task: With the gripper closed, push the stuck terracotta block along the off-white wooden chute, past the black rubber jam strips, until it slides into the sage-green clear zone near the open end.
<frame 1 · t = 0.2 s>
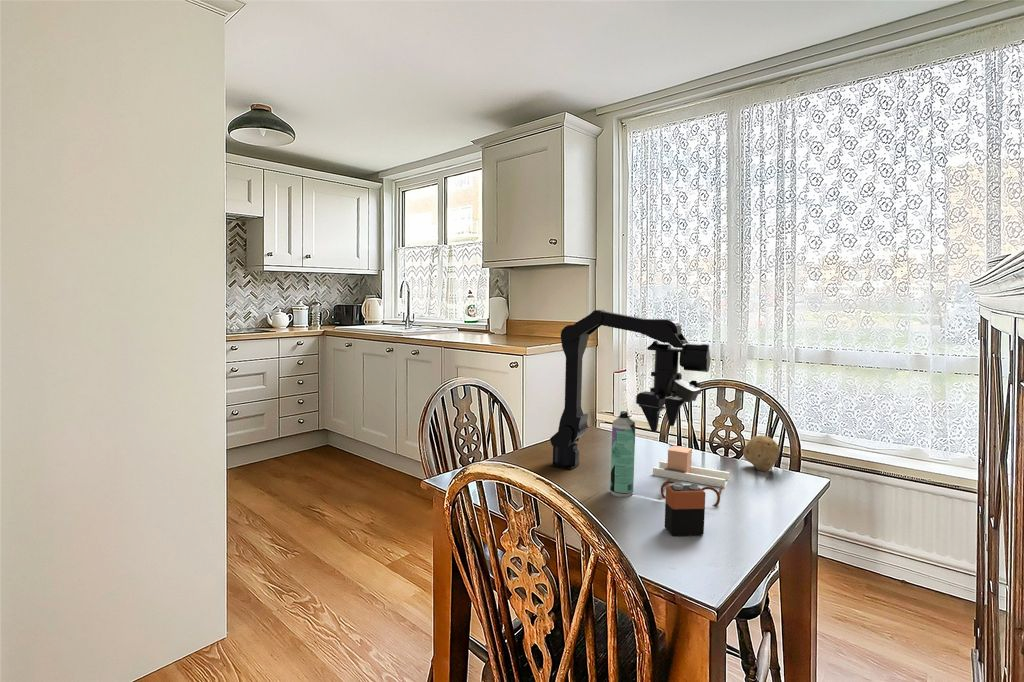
hand: (663, 428, 141), 14 cm above the table, fingers open, 9 cm apart
glasses: (691, 497, 132), on the table
jammed block: (679, 462, 145), point 4 cm above the table, slide at 0.0 cm
battery: (683, 532, 112), on the table
chute: (690, 479, 144), on the table
natural sponge: (760, 471, 152), on the table
spray can: (621, 493, 133), on the table
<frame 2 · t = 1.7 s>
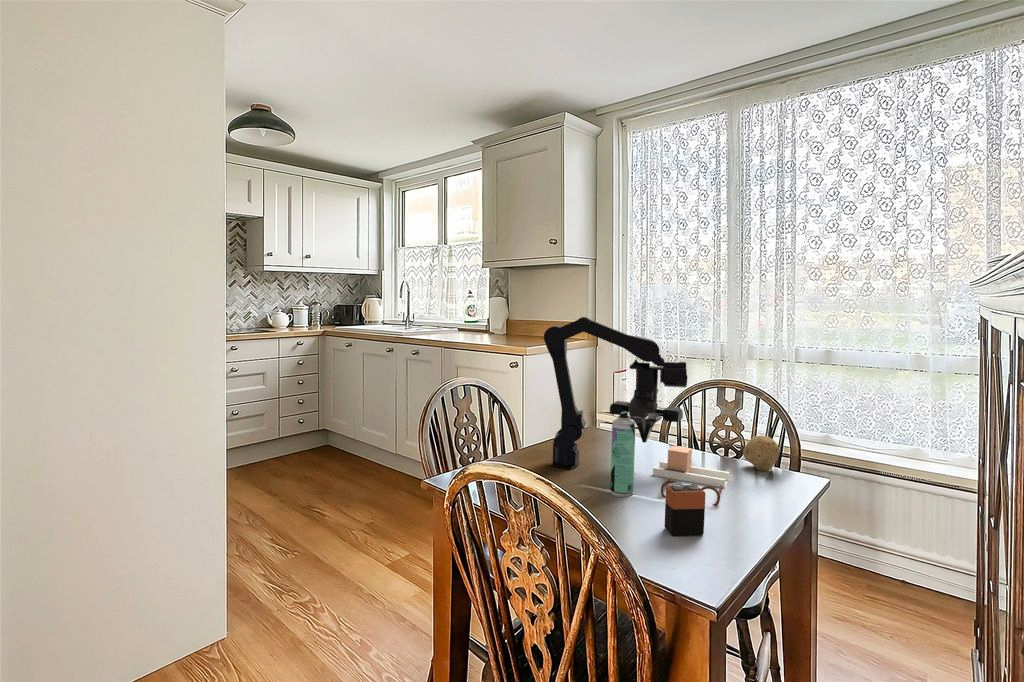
hand: (644, 442, 149), 8 cm above the table, fingers closed
nothing on the table moved.
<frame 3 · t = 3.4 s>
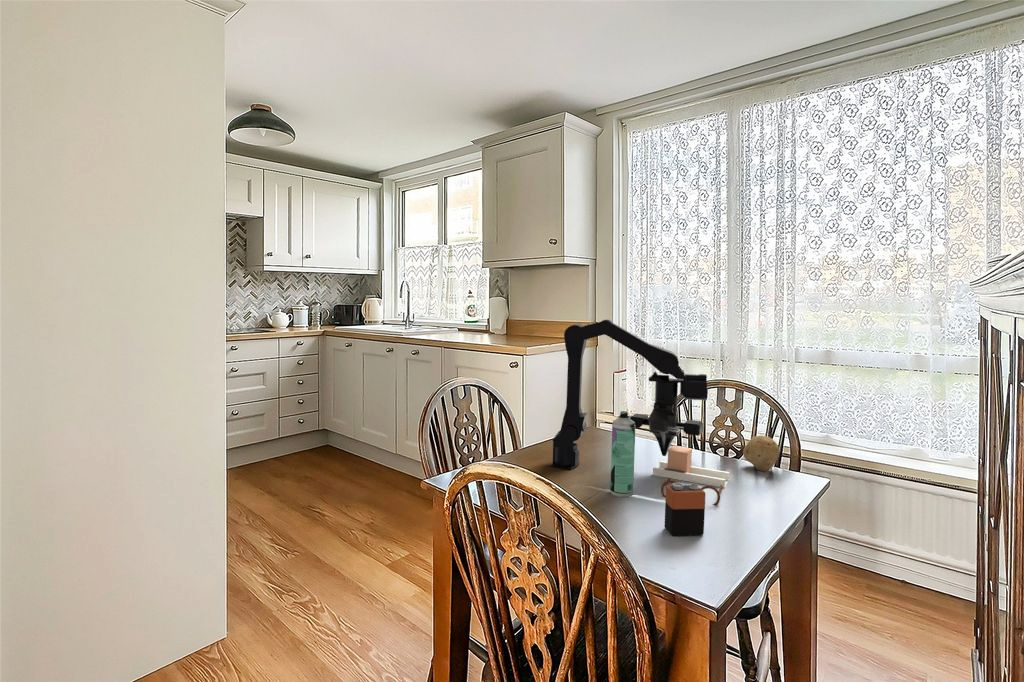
hand: (664, 455, 147), 5 cm above the table, fingers closed
jammed block: (679, 462, 145), point 4 cm above the table, slide at 0.0 cm, touching gripper
everything else where it was.
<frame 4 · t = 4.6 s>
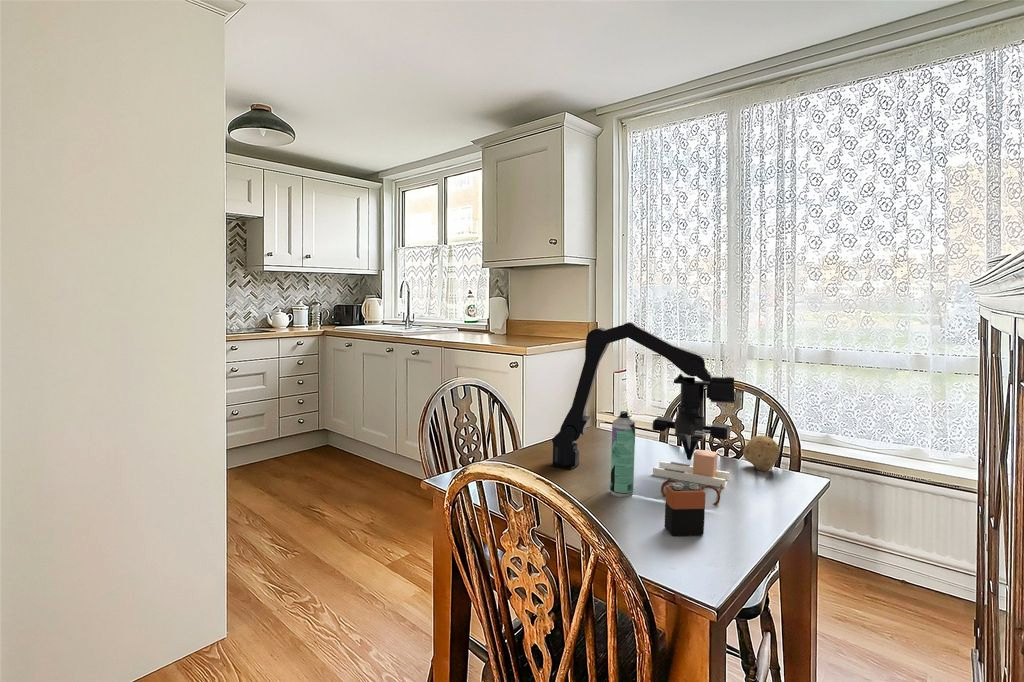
hand: (689, 459, 144), 5 cm above the table, fingers closed
jammed block: (705, 466, 142), point 4 cm above the table, slide at 6.5 cm, touching gripper
everything else where it was.
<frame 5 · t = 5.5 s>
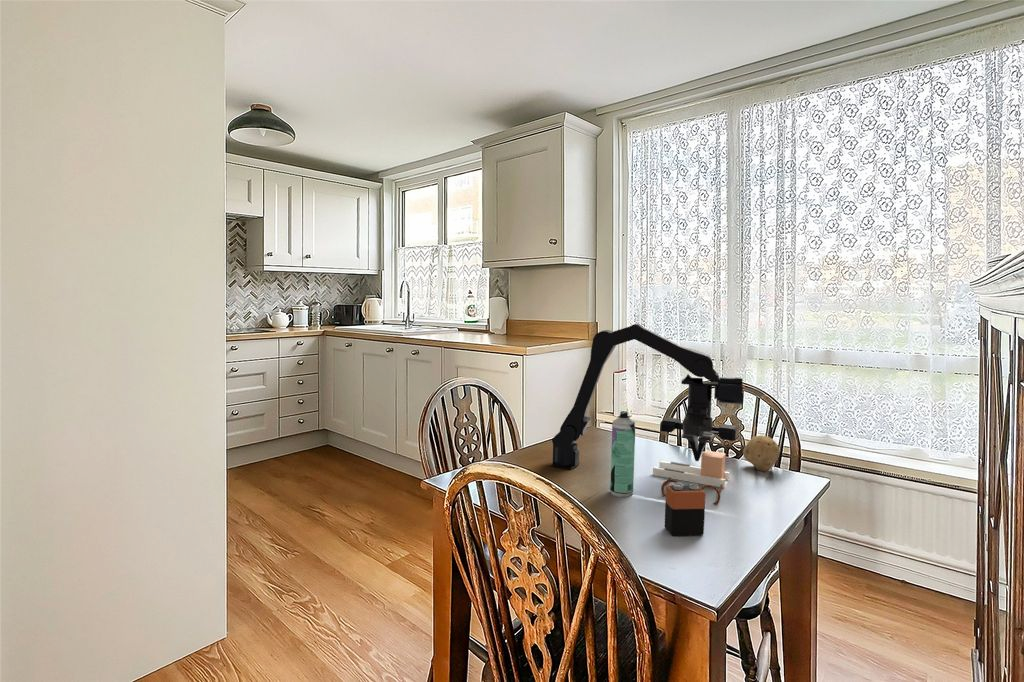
hand: (697, 460, 143), 5 cm above the table, fingers closed
jammed block: (713, 467, 141), point 4 cm above the table, slide at 8.5 cm, touching gripper
everything else where it was.
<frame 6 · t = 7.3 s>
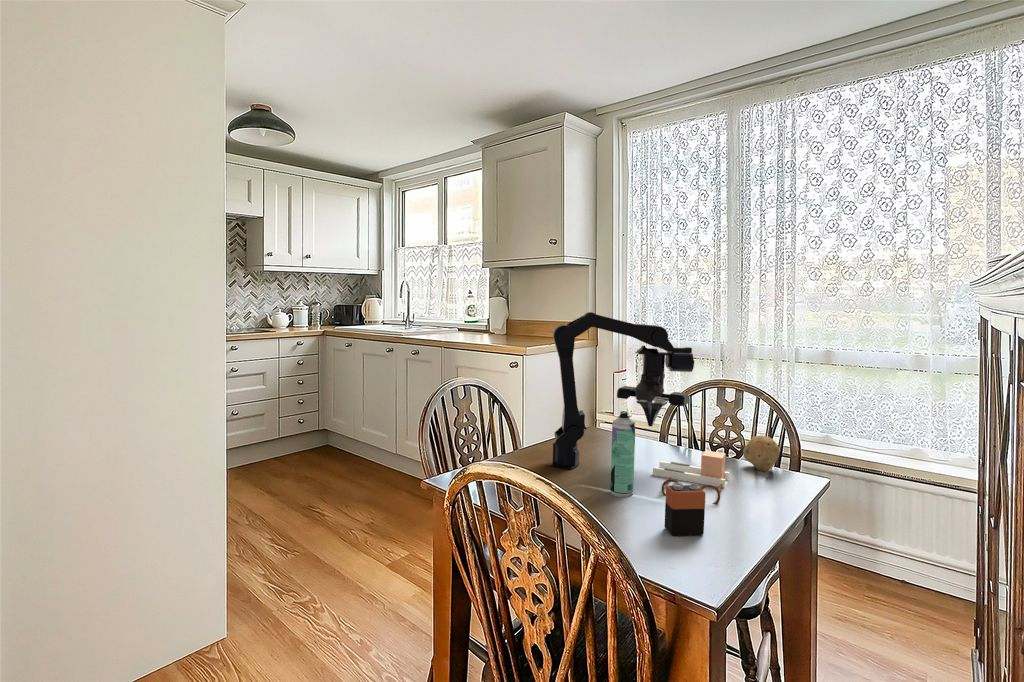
hand: (650, 426, 153), 12 cm above the table, fingers closed
jammed block: (713, 467, 141), point 4 cm above the table, slide at 8.5 cm
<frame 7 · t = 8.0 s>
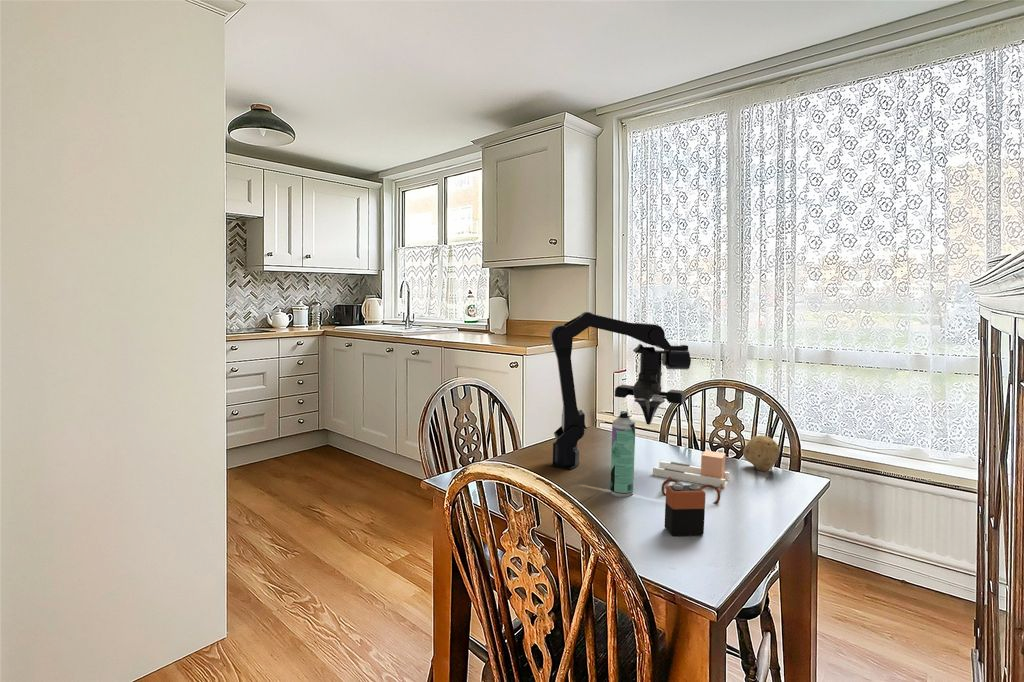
hand: (648, 424, 154), 12 cm above the table, fingers closed
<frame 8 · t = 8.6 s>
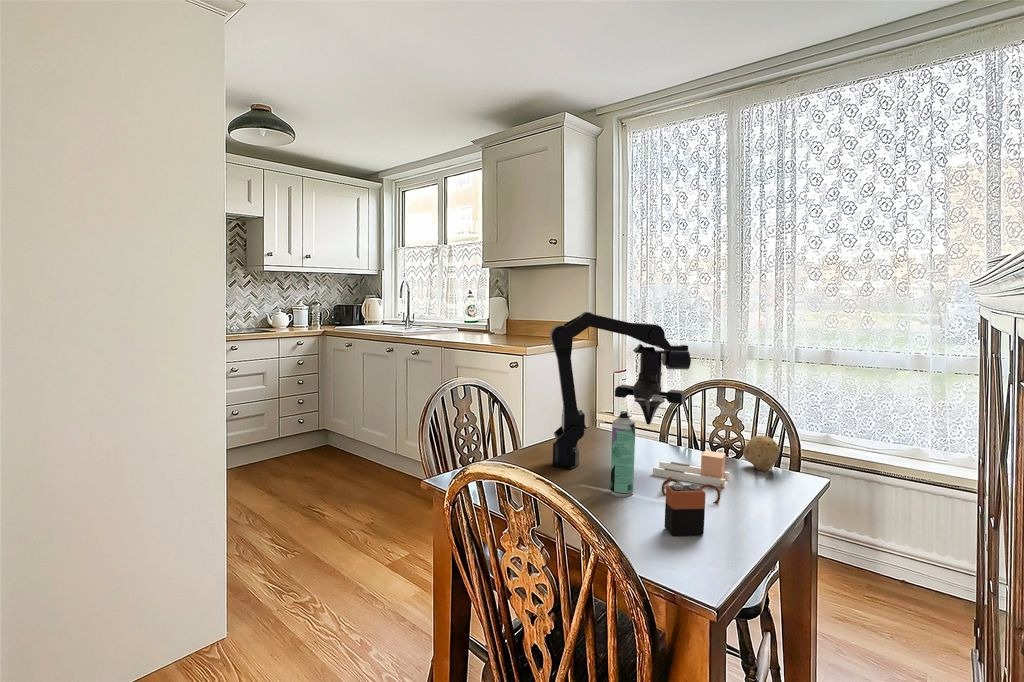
hand: (648, 424, 154), 12 cm above the table, fingers closed
at the end: jammed block slide at 8.5 cm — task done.
